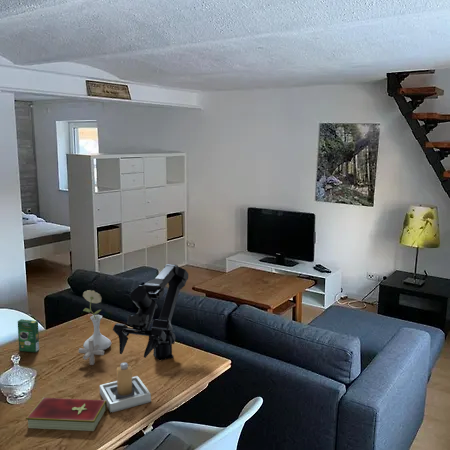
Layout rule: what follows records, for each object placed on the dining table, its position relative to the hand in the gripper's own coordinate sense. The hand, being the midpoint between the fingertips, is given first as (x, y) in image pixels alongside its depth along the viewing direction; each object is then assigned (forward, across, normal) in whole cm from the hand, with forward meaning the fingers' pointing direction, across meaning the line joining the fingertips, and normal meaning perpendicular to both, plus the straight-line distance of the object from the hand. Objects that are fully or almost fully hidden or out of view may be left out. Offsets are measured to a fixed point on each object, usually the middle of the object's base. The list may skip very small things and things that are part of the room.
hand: (132, 355), depth 164 cm
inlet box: (+13, 0, +4) cm, 14 cm away
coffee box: (-2, -55, +20) cm, 58 cm away
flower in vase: (-9, -30, +27) cm, 42 cm away
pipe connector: (0, -24, +18) cm, 30 cm away
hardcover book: (+25, -11, -7) cm, 28 cm away
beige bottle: (+13, 0, +4) cm, 13 cm away
